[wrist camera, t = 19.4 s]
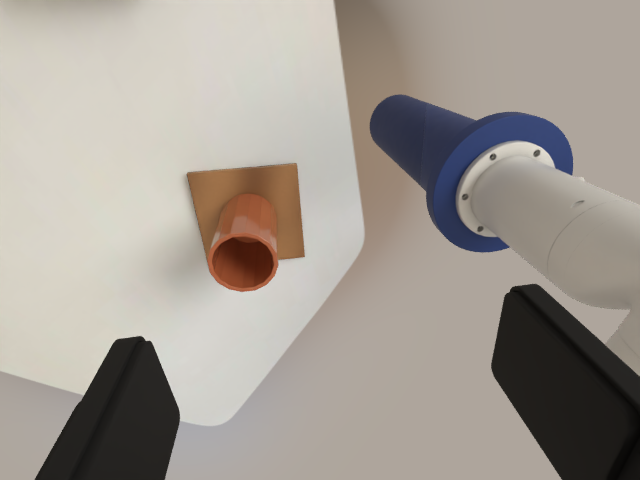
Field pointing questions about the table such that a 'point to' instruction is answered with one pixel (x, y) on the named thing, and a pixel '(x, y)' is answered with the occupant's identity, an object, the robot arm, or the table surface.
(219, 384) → the table surface
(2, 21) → the table surface
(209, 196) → the cork mat
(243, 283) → the tumbler
